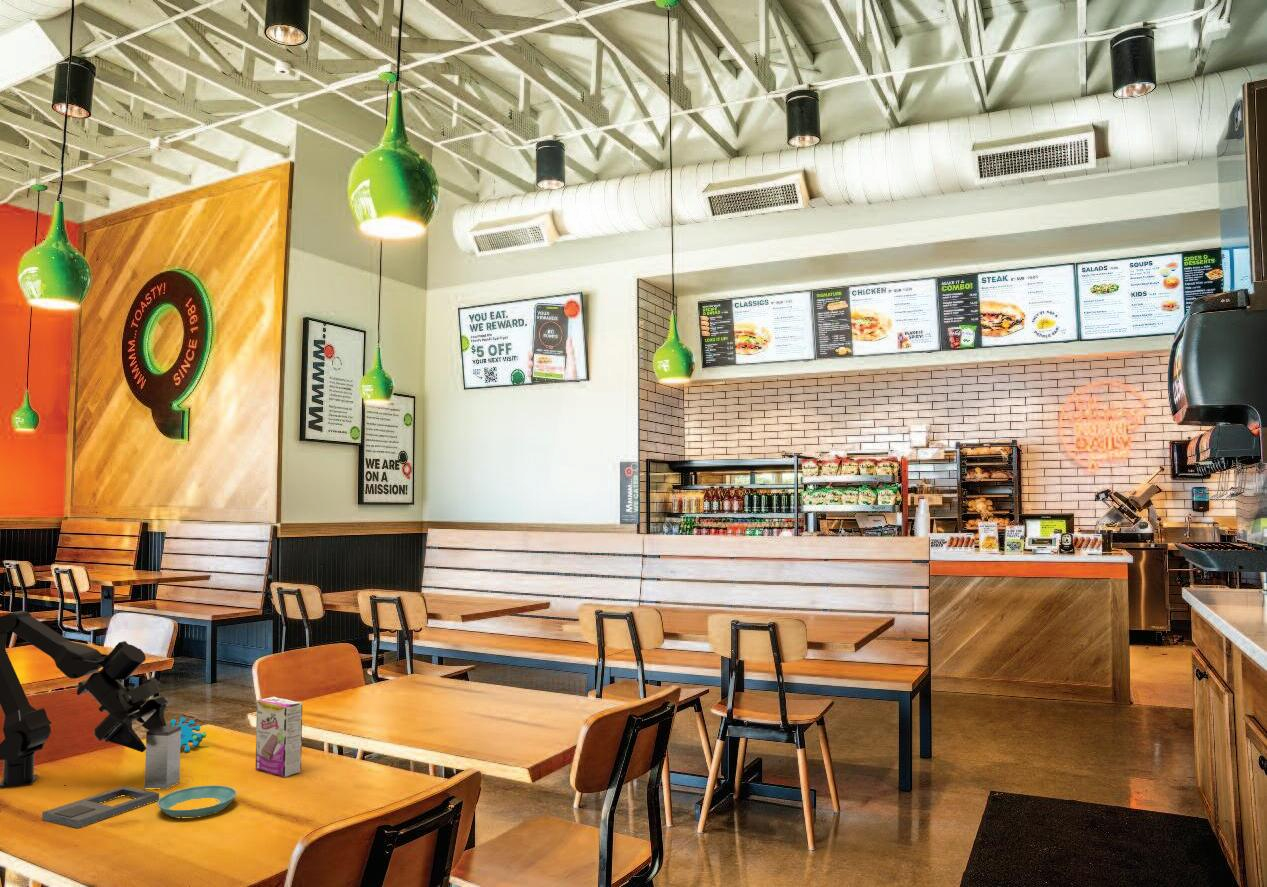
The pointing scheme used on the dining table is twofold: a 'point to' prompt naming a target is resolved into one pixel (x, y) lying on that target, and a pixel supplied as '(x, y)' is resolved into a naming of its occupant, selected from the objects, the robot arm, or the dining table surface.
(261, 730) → the candy bar box
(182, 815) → the saucer
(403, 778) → the dining table surface
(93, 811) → the grey slotted plate
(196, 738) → the gear
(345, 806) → the dining table surface
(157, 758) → the grey tall block
